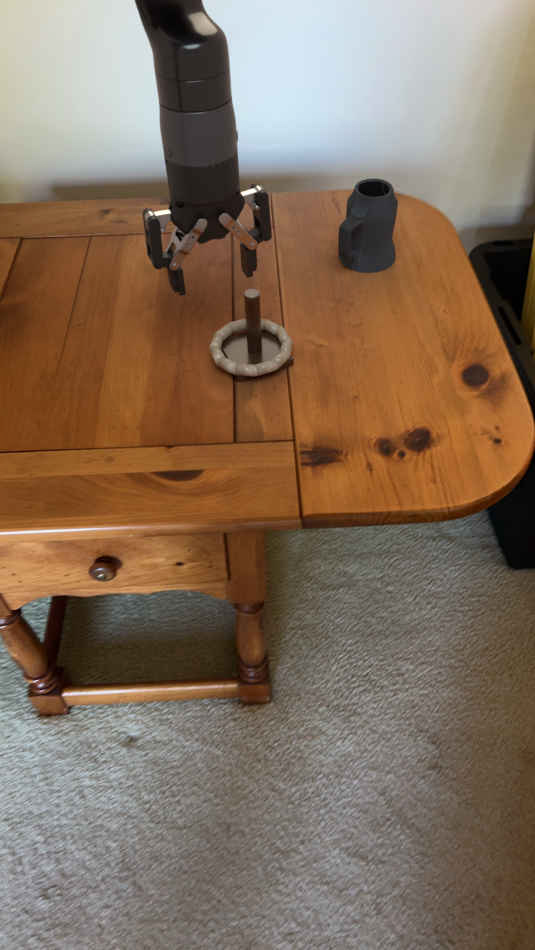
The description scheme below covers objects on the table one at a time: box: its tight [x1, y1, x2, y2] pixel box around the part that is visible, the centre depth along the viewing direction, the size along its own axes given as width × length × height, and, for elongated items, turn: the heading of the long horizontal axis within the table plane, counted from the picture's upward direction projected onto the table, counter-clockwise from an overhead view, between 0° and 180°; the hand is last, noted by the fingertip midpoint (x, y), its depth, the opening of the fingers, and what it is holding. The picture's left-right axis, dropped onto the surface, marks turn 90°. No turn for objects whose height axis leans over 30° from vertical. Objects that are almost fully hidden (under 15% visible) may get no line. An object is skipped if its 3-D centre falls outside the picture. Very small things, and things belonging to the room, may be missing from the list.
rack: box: [221, 288, 295, 383], centre depth 86 cm, size 8×8×10 cm
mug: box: [337, 177, 399, 274], centre depth 100 cm, size 12×9×11 cm
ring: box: [208, 317, 294, 377], centre depth 89 cm, size 11×11×2 cm
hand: (214, 282), depth 79 cm, fingers open, 8 cm apart
